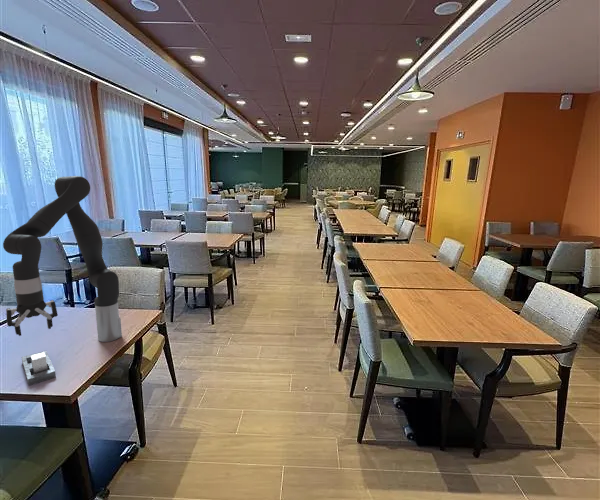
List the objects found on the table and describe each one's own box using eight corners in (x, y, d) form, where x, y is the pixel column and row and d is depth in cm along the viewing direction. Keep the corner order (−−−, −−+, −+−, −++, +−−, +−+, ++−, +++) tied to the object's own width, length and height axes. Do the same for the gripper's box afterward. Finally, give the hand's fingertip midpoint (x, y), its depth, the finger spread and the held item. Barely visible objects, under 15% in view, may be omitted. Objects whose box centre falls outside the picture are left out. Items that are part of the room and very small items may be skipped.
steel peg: (46, 370, 128) (44, 352, 126) (48, 375, 125) (45, 356, 123) (33, 374, 125) (30, 355, 123) (35, 379, 122) (32, 360, 121)
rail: (47, 356, 138) (46, 350, 137) (55, 377, 124) (55, 371, 124) (22, 362, 132) (21, 357, 132) (28, 385, 119) (27, 379, 118)
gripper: (3, 296, 110) (10, 341, 114) (55, 288, 120) (60, 329, 124) (1, 291, 115) (8, 333, 119) (51, 283, 125) (56, 322, 129)
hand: (35, 331), depth 121 cm, fingers open, 8 cm apart
